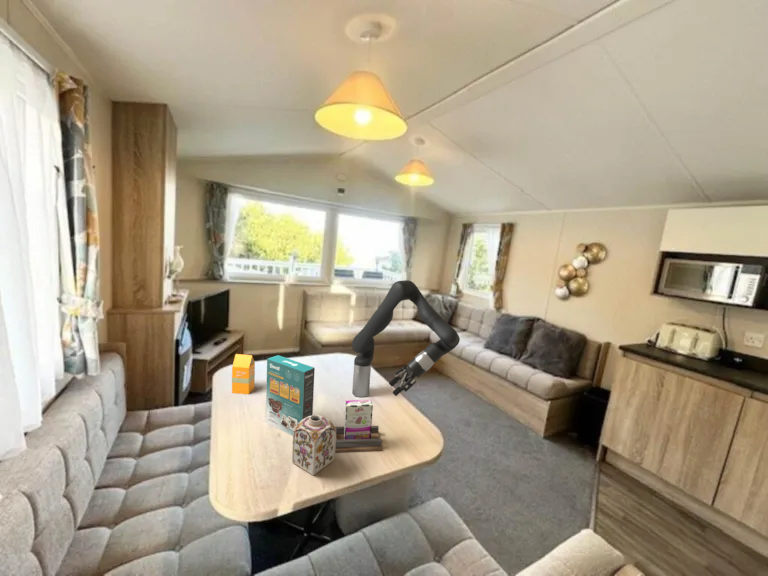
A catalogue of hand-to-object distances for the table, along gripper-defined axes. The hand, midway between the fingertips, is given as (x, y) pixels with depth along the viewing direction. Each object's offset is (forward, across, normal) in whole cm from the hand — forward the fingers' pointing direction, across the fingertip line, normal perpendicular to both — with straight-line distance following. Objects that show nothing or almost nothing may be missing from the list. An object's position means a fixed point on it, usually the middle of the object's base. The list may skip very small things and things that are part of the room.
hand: (392, 389), depth 141 cm
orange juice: (+66, -47, -33) cm, 87 cm away
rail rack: (+26, 0, +7) cm, 27 cm away
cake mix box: (+47, -11, -14) cm, 50 cm away
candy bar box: (+25, 0, +6) cm, 26 cm away
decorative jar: (+38, +12, -5) cm, 40 cm away
